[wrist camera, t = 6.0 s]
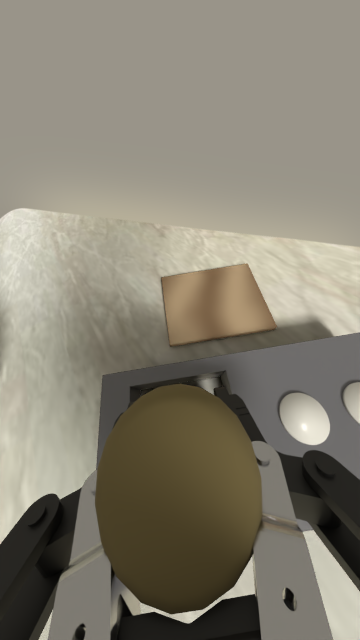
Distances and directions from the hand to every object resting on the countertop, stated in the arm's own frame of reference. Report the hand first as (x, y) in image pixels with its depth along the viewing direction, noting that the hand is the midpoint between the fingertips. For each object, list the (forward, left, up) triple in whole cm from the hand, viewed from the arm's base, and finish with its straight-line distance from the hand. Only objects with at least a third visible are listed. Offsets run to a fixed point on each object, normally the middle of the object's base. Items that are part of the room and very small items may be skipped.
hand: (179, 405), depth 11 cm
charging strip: (-9, +2, -5) cm, 10 cm away
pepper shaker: (0, +2, -5) cm, 5 cm away
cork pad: (-5, -10, -5) cm, 12 cm away
